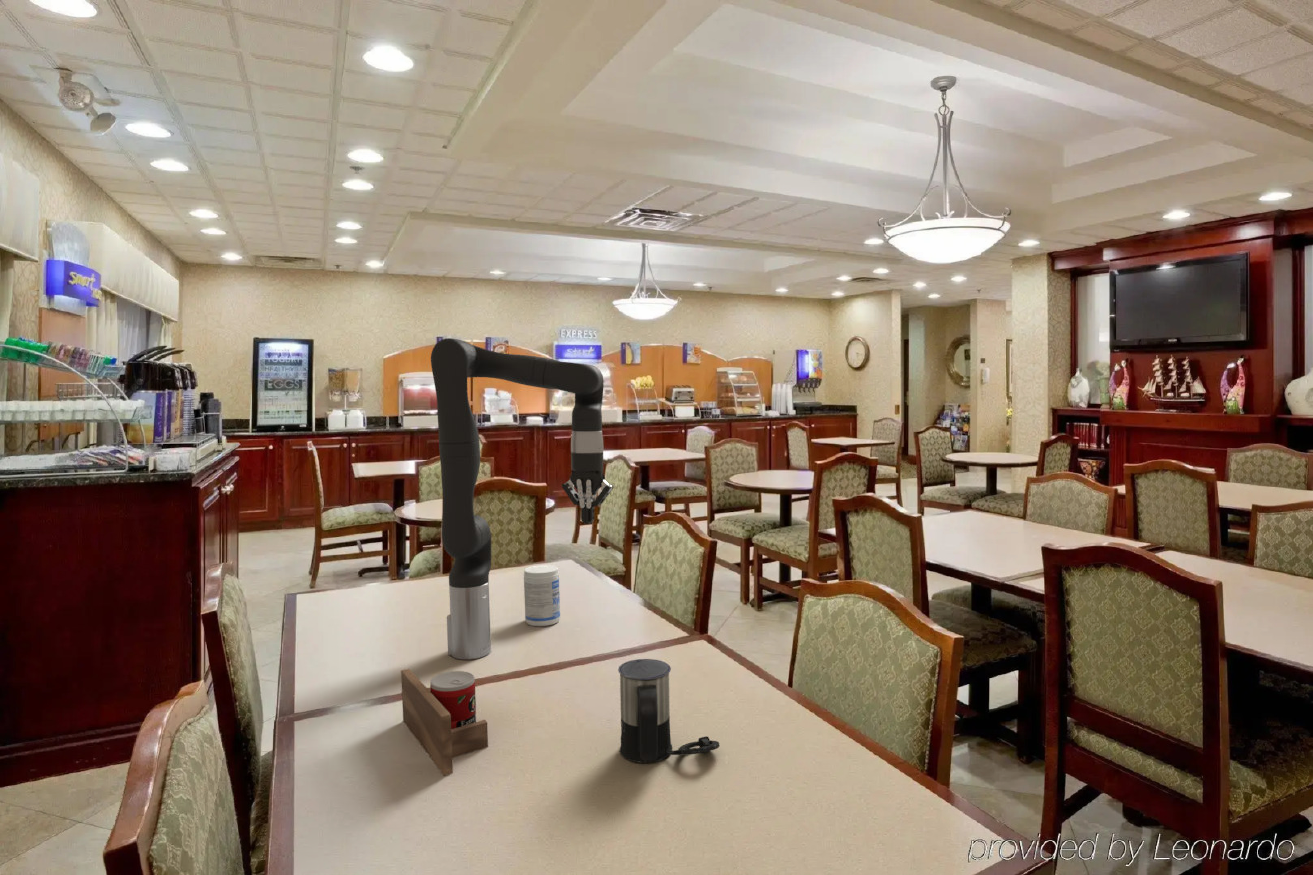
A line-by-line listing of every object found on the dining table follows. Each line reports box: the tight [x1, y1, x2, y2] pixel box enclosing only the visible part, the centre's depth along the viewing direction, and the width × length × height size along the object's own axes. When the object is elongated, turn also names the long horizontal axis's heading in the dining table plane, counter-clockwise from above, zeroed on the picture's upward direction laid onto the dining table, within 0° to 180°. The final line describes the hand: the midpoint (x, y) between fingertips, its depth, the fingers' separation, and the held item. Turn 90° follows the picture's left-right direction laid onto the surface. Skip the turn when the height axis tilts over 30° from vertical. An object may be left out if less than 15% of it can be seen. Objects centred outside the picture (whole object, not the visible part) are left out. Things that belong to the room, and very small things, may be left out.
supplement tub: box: [523, 564, 561, 627], centre depth 194 cm, size 10×10×15 cm
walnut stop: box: [400, 668, 489, 776], centre depth 129 cm, size 10×24×10 cm, turn 35°
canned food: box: [429, 670, 477, 729], centre depth 129 cm, size 8×8×11 cm
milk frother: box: [617, 658, 720, 764], centre depth 123 cm, size 14×16×15 cm
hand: (587, 523), depth 167 cm, fingers closed
